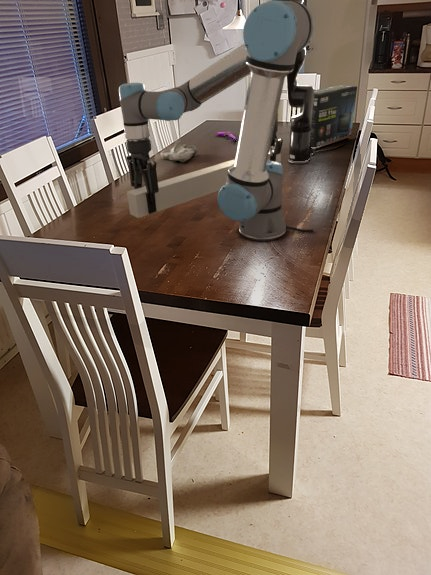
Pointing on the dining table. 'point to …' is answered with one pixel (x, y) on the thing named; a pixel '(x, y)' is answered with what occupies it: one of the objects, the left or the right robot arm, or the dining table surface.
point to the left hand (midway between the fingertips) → (147, 210)
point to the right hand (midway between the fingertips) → (267, 163)
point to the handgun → (227, 133)
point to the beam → (182, 188)
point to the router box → (332, 113)
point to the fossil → (179, 152)
